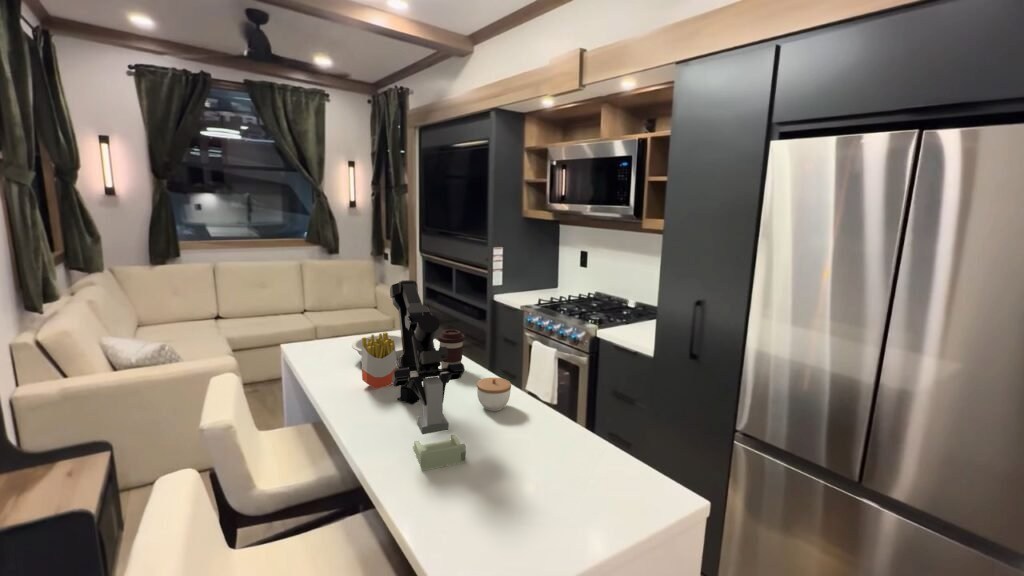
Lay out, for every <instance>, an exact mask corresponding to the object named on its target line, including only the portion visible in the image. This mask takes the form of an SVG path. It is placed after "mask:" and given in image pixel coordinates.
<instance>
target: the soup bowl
mask: <svg viewBox="0 0 1024 576" xmlns="http://www.w3.org/2000/svg"><path fill="white" fill-rule="evenodd" d="M365 337H366V343H367V344H368V338H371V335H368V336H367V335H366V336H365ZM378 337H379V334H375V335H374V341H376V338H378ZM362 338H363V337H360V338H358V339H356V340H354V341H352V344H351V348H352V349H353V350H355V351H357V353H358V354H359V355H360V356H361V357H362V351H361V345H363V344H362ZM388 338H391V339H393V341H394V344H395V350H396V360H397V359H401V357H402V355H403V348H402V339H401V334H400V335H399V334H388ZM382 339H383V334H382ZM383 341H384V340H383ZM371 342H372V339H371Z"/></svg>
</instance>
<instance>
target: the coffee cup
mask: <svg viewBox="0 0 1024 576" xmlns="http://www.w3.org/2000/svg"><path fill="white" fill-rule="evenodd" d="M465 337H466V336H465V334H463V333H461V331H460V330H457V329H445V330H443V331H442V332H441V333H440V334H439V335H437V340H438V342H439V348H440V347H447V351H448V358H447V359H442V362H440V363H441V365H440V367H441V368H440V369H442V368H447V366H448V364H449V363H456V362H461V363H462V360H463V350H464V341H465Z"/></svg>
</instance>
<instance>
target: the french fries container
mask: <svg viewBox="0 0 1024 576" xmlns="http://www.w3.org/2000/svg"><path fill="white" fill-rule="evenodd" d="M378 335H379V337H378V338H376V341H374V334H371V335H370V336H371V338H368V344H367V343H366V337H367V336H364V337H361V338H362V344H363V345H361V351H362V356H361V380H362V382H365V383H366V384H367V385H368V386H370V387H371V388H373V389H375V390H376V389H380V388H385V387H387V386H391V385H392V384H393V383H392V377H393V373H394V371H395V369H397V368H398V365H397V363H398V362H397V359H396V350H395V344H394V341H393V339H391V338H388V335H389V333H388V332H387V331H385V332H384V331H383V332H382V333H381V332H380V333H379V334H378ZM382 335H383V339H382ZM371 339H372V342H371ZM383 340H384V341H383Z"/></svg>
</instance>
